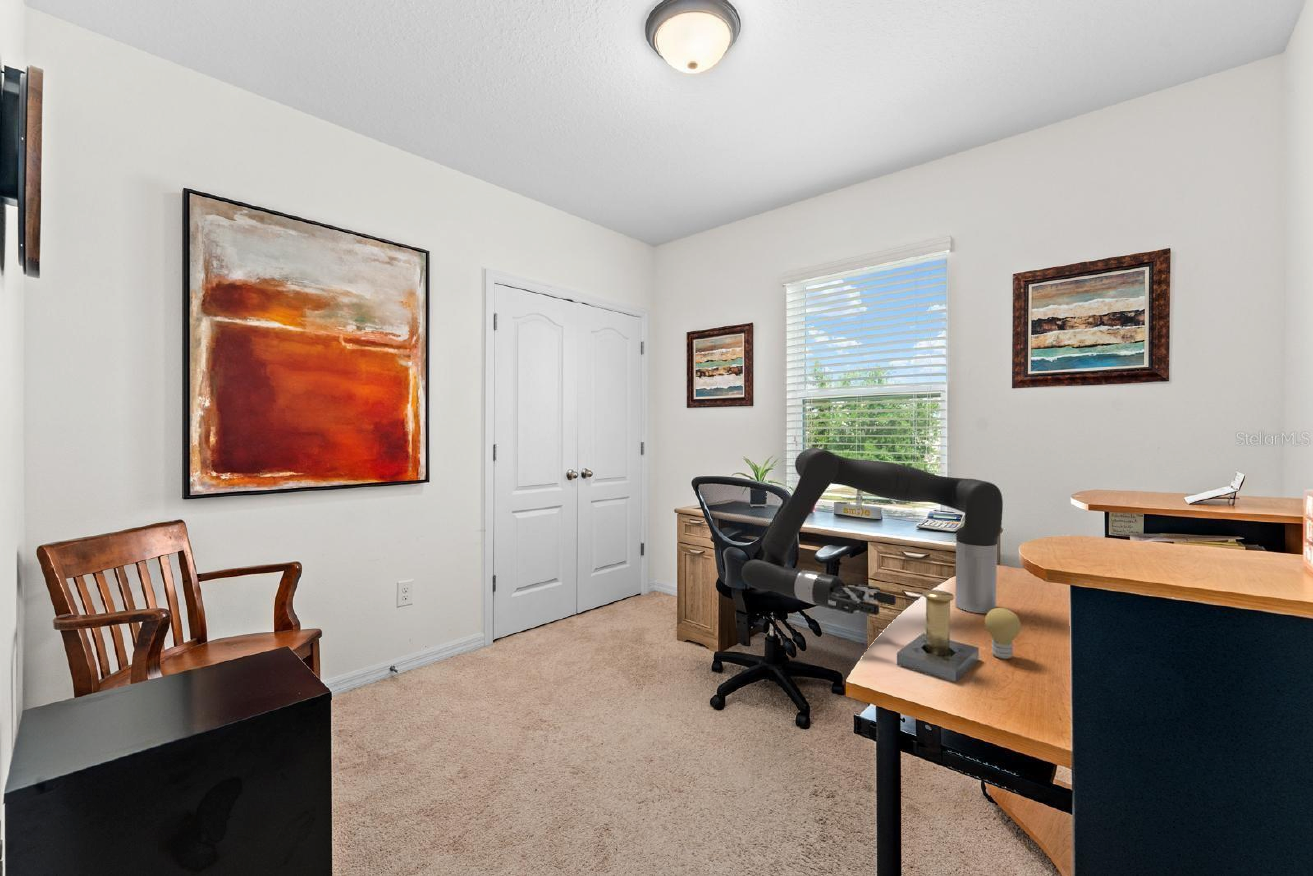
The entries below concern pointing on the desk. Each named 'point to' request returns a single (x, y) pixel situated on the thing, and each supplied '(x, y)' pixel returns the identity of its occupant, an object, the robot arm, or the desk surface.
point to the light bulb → (1002, 631)
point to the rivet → (938, 622)
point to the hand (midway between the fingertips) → (887, 605)
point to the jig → (938, 659)
